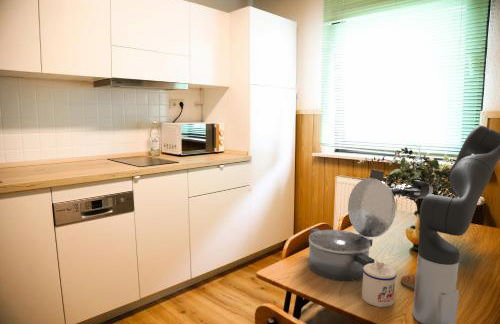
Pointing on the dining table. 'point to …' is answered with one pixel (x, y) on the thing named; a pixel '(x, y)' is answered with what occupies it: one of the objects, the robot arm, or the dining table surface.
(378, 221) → the cooker lid
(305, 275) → the dining table surface
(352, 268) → the cooker pot
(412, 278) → the pastry
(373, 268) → the teacup with lid
